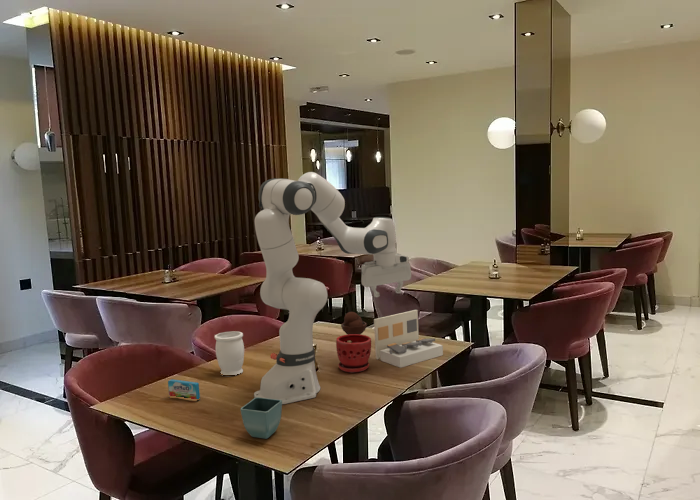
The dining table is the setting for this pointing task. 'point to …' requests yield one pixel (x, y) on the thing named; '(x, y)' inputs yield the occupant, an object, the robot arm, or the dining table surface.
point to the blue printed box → (184, 389)
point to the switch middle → (411, 344)
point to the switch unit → (402, 340)
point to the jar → (230, 352)
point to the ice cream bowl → (353, 324)
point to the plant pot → (353, 352)
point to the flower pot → (261, 416)
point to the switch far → (425, 340)
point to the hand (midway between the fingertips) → (387, 294)
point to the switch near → (396, 348)
